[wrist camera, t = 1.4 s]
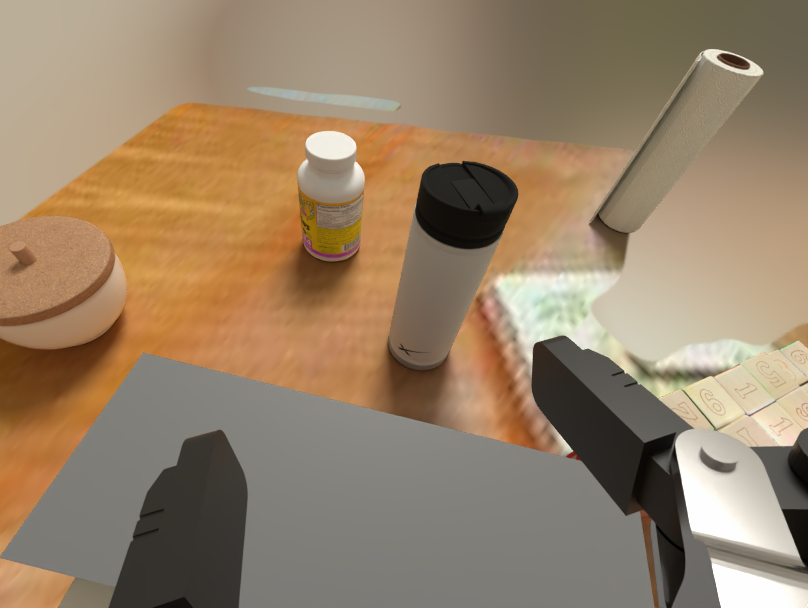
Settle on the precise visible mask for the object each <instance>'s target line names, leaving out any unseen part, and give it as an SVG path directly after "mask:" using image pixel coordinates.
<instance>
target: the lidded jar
mask: <svg viewBox="0 0 808 608" xmlns="http://www.w3.org/2000/svg"><path fill="white" fill-rule="evenodd" d="M126 298H127V281H126V276H125V273H124V270H123V268H122V265H121V263H120V260H119V259H118V257H117V255H116V253H115V252H114V249H113V246H112V244H111V242H110V240H109V239H108V237H107V236H106V235H105V233H104V232H103V231H102V230H101V229H99V228H98V227H97V226H95V225H93V224H91V223H89V222H86V221H84V220H80V219H76V218H72V217H63V216H45V217H35V218H29V219H24V220H20V221H16V222H12V223H9V224H6V225H3V226H0V339H3V340H5V341H8V342H10V343H13V344H15V345H19V346H23V347H28V348H33V349H61V348H68V347H72V346H78V345H82V344H85V343H88V342H91V341H93V340H95V339H97V338H98V337H100V336H102V335H103V334H104V333H105V332H107V331H108V330H109V329H110V328H111V326H112V325H113V324H114V322H115V321H116V320H117V318H118V317H119V316H120V314H121V312H122V310H123V308H124V305H125V302H126Z"/></svg>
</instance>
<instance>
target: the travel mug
mask: <svg viewBox="0 0 808 608" xmlns="http://www.w3.org/2000/svg"><path fill="white" fill-rule="evenodd" d="M517 198H518V189H517V187H516V185H515V183H514V182H513V181H512V180H511V179H510V178H509V177H508V176H507V175H505V174H504V173H502V172H501V171H499V170H497V169H495V168H493V167H490V166H487V165H484V164H481V163H477V162H469V161H463V162H462V164H460V163H447V164H441V165H440V164H439V163H438V164H435V165H432V166H430V167H428V168H427V169H426V170H425V171H424V173H423V174H422V178H421V183H420V188H419V193H418V198H417V203H416V204H415V208H414V213H413V218H412V223H411V228H410V233H409V238H408V243H407V248H406V253H405V258H404V263H403V268H402V273H401V278H400V283H399V288H398V292H397V297H396V302H395V307H394V312H393V317H392V322H391V327H390V332H389V337H388V345H389V349H390V351H391V353H392V355H393V356H394V357H395V359H396V360H397V361H398V362H400V363H401V364H402V365H404V366H406V367H408V368H411V369H415V370H430V369H433V368H436V367H437V366H439V365H440V364H442V363H443V362H444V361H445V359H446V358H447V356H448V354H449V351H450V349H451V347H452V345H453V343H454V340H455V338H456V336H457V334H458V332H459V329H460V327H461V325H462V323H463V321H464V318H465V316H466V314H467V312H468V309H469V307H470V305H471V303H472V301H473V298H474V296H475V294H476V292H477V290H478V287H479V285H480V283H481V281H482V279H483V276H484V274H485V272H486V270H487V267H488V265H489V263H490V261H491V259H492V256H493V254H494V252H495V250H496V248H497V245H498V243H499V240H500V239H501V236H502V234H503V231H504V228H505V224H506V223H507V221H508V219H509V217H510V214H511V212H512V210H513V208H514V205H515V203H516V201H517Z"/></svg>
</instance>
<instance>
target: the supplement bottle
mask: <svg viewBox="0 0 808 608" xmlns="http://www.w3.org/2000/svg"><path fill="white" fill-rule="evenodd" d="M305 150H306V158H307V159H306V160H305V161H304V162H303V163H302V164H301V166H300V168H299V170H298V174H297V180H298V191H299V203H300V215H301V227H302V237H303V243H304V246H305V248H306V250H307V251H308V252H309V253H310V254H311V255H312V256H314V257H315V258H318V259H320V260H323V261H329V262H333V261H341V260H345V259H347V258H349V257H351V256H352V255H354V254H355V253H356V251H357V250H358V248H359V246H360V241H361V228H362V213H363V198H364V185H365V177H364V173H363V170H362V169H361V167H360V166H359V164H358V163H357V162H355V161H356V144H355V142H354V140H353V139H352V138H350V137H349V136H347V135H345V134H343V133H339V132H334V131H323V132H318V133H315V134H313V135H311V136H310V137H309V138H308V139H307V140H306V143H305Z"/></svg>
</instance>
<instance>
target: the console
mask: <svg viewBox="0 0 808 608" xmlns="http://www.w3.org/2000/svg"><path fill="white" fill-rule="evenodd" d="M216 430H222V431H223V432H224V433H225V435H226V437H227V439H228V441H229V443H230V445H231V447H232V449H233V451H234V453H235V455H236V457H237V459H238V461H239V463H240V465H241V467H242V469H243V471H244V474H245V478H246V482H247V489H248V502H247V514H246V526H245V538H244V550H243V562H242V574H241V586H240V598H239V608H655V607H654V600H653V594H652V587H651V581H650V574H649V568H648V561H647V554H646V548H645V541H644V535H643V528H642V522H641V515H640V511H638V512H636V513H633V514H630V515H628V516H625V514H624V513H623V512H622V511H621V509H620V508H619V507H618V506H617V504H616V503H615V502H614V501H613V499H612V498H611V497H610V496H609V495H608V493H607V492H606V491H605V490H604V488H603V487H602V486H601V485H600V483H599V482H598V481H597V480H596V478H595V477H594V476H593V475H592V473H591V472H590V471H589V470H588V468H587V467H586V466H585V465H584V463H583V462H582V461H579V460H575V459H571V458H567V457H563V456H559V455H555V454H551V453H547V452H543V451H539V450H535V449H531V448H527V447H523V446H519V445H515V444H510V443H506V442H502V441H498V440H494V439H490V438H486V437H482V436H478V435H474V434H470V433H466V432H462V431H458V430H454V429H450V428H446V427H442V426H438V425H434V424H430V423H426V422H422V421H418V420H414V419H409V418H405V417H401V416H397V415H393V414H389V413H385V412H381V411H377V410H373V409H369V408H365V407H361V406H357V405H353V404H349V403H345V402H341V401H337V400H333V399H329V398H325V397H321V396H317V395H312V394H308V393H304V392H300V391H296V390H292V389H288V388H284V387H280V386H276V385H272V384H268V383H264V382H260V381H256V380H252V379H248V378H244V377H240V376H236V375H232V374H228V373H224V372H220V371H216V370H211V369H207V368H203V367H199V366H195V365H191V364H187V363H183V362H179V361H175V360H171V359H167V358H163V357H159V356H155V355H151V354H147V353H143V354H142V355H141V357H140V358H139V359H138V361H137V362H136V364H135V365H134V367H133V368H132V369H131V371H130V372H129V374H128V375H127V376H126V378H125V379H124V381H123V382H122V384H121V385H120V386H119V388H118V389H117V391H116V392H115V394H114V395H113V396H112V398H111V399H110V401H109V402H108V404H107V405H106V406H105V408H104V409H103V411H102V412H101V414H100V415H99V416H98V418H97V419H96V421H95V422H94V423H93V425H92V426H91V428H90V429H89V431H88V432H87V433H86V435H85V436H84V438H83V439H82V441H81V442H80V443H79V445H78V446H77V448H76V449H75V451H74V452H73V453H72V455H71V456H70V458H69V459H68V460H67V462H66V463H65V465H64V466H63V468H62V469H61V470H60V472H59V473H58V475H57V476H56V478H55V479H54V480H53V482H52V483H51V485H50V486H49V488H48V489H47V490H46V492H45V493H44V495H43V496H42V497H41V499H40V500H39V502H38V503H37V505H36V506H35V507H34V509H33V510H32V512H31V513H30V515H29V516H28V517H27V519H26V520H25V522H24V523H23V525H22V526H21V527H20V529H19V530H18V532H17V533H16V534H15V536H14V537H13V539H12V540H11V542H10V543H9V544H8V546H7V547H6V549H5V550H4V552H3V553H2V554H1V556H0V558H2V559H6V560H10V561H14V562H18V563H22V564H26V565H30V566H34V567H38V568H42V569H45V570H49V571H53V572H57V573H61V574H65V575H69V576H73V577H77V578H81V579H85V580H89V581H93V582H97V583H101V584H105V585H108V586H112V587H116V584H117V581H118V578H119V575H120V572H121V569H122V566H123V563H124V560H125V557H126V554H127V551H128V548H129V545H130V542H131V541H133V533H134V530H135V527H136V524H137V521H139V520H140V517H139V515H140V512H141V509H142V506H143V503H144V500H145V497H146V494H147V492H148V490H149V489H150V487H151V486H152V485H153V483H154V482H155V481H156V479H157V478H158V476H159V475H160V474H161V472H162V471H163V470H164V469H166V468H170V467H173V466H176V465H177V462H178V458H179V454H180V451H181V447H182V444H183V442H184V440H185V439H187V438H191V437H194V436H198V435H201V434H205V433H209V432H212V431H216Z"/></svg>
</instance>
